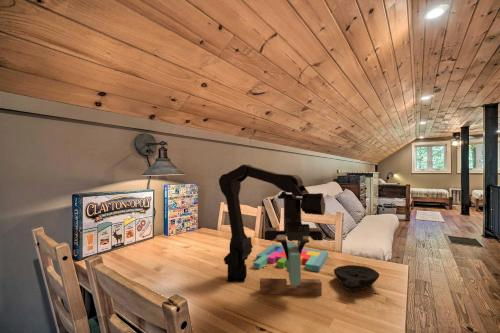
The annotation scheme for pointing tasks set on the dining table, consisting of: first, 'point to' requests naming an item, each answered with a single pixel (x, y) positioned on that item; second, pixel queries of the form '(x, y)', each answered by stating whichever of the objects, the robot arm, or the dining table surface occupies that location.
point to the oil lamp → (356, 276)
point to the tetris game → (308, 257)
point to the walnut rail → (290, 287)
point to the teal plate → (293, 264)
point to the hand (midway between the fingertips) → (292, 259)
